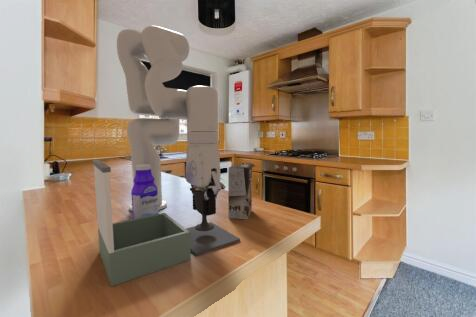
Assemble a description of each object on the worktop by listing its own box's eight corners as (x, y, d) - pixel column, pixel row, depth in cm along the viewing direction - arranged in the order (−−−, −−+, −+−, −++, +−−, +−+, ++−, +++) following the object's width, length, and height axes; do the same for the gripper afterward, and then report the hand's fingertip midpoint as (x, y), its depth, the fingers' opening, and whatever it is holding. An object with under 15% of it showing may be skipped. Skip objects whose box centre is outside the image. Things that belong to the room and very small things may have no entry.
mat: (171, 234, 63) (171, 232, 63) (211, 223, 70) (211, 221, 70) (196, 256, 51) (195, 253, 51) (240, 241, 59) (240, 238, 59)
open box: (98, 252, 53) (92, 159, 51) (165, 235, 62) (162, 155, 60) (109, 287, 41) (102, 167, 39) (190, 259, 50) (188, 161, 48)
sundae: (192, 223, 63) (190, 167, 62) (217, 222, 64) (216, 166, 62) (189, 233, 57) (187, 171, 55) (217, 232, 58) (216, 170, 56)
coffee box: (248, 219, 73) (248, 167, 71) (227, 218, 74) (227, 167, 73) (252, 210, 82) (252, 164, 80) (234, 209, 83) (233, 163, 81)
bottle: (141, 228, 66) (138, 167, 64) (129, 224, 69) (126, 165, 67) (162, 220, 72) (160, 164, 71) (150, 217, 75) (147, 162, 74)
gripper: (174, 138, 63) (176, 206, 65) (206, 140, 49) (207, 225, 51) (200, 138, 67) (201, 201, 69) (235, 139, 53) (236, 218, 55)
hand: (204, 210), depth 60 cm, fingers closed on sundae, 4 cm apart
